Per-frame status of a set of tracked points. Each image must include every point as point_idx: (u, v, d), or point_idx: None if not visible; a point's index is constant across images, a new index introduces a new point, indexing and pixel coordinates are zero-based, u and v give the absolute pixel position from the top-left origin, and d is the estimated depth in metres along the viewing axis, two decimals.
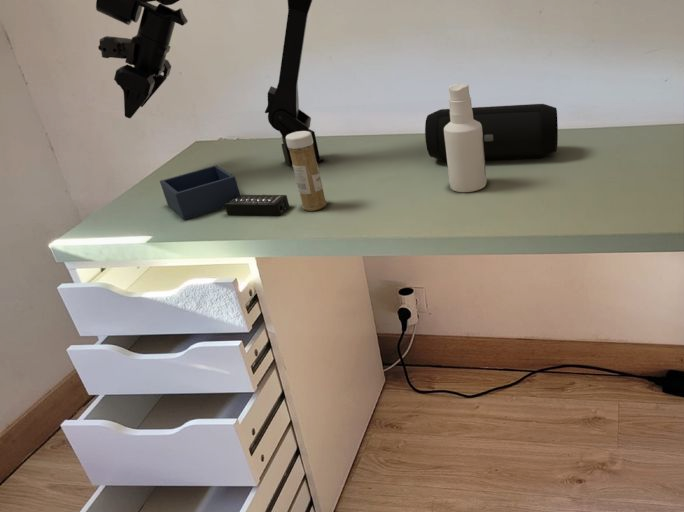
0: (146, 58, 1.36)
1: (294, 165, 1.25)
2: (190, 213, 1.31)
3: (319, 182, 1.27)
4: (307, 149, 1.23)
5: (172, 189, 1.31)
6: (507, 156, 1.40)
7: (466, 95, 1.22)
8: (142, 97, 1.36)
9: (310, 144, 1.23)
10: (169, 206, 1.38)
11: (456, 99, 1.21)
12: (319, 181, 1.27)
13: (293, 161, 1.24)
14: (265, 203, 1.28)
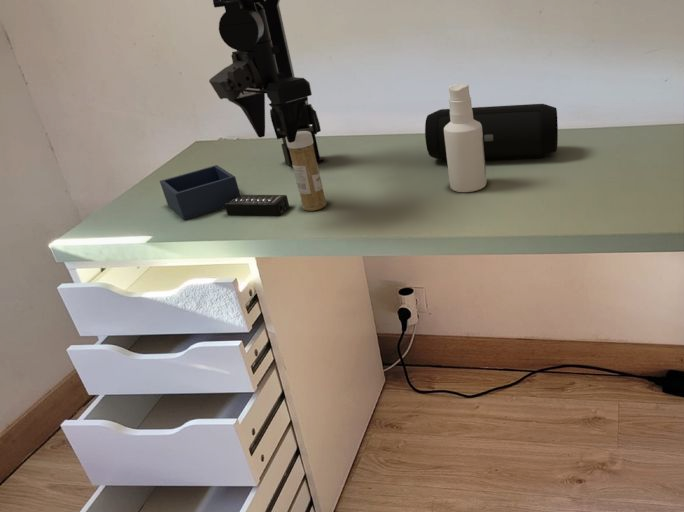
0: (269, 67, 1.15)
1: (294, 165, 1.25)
2: (190, 213, 1.31)
3: (319, 182, 1.27)
4: (307, 149, 1.23)
5: (172, 189, 1.31)
6: (507, 156, 1.40)
7: (466, 95, 1.22)
8: (299, 106, 1.17)
9: (310, 144, 1.23)
10: (169, 206, 1.38)
11: (456, 99, 1.21)
12: (319, 181, 1.27)
13: (293, 161, 1.24)
14: (265, 203, 1.28)
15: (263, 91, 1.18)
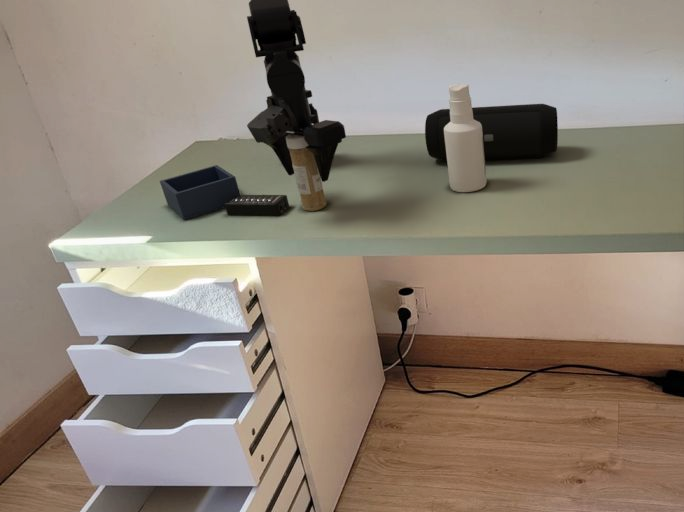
0: (304, 110, 1.19)
1: (294, 165, 1.25)
2: (190, 213, 1.31)
3: (319, 182, 1.27)
4: (307, 149, 1.23)
5: (172, 189, 1.31)
6: (507, 156, 1.40)
7: (466, 95, 1.22)
8: (333, 147, 1.22)
9: None
10: (169, 206, 1.38)
11: (456, 99, 1.21)
12: (319, 181, 1.27)
13: (293, 161, 1.24)
14: (265, 203, 1.28)
15: (296, 133, 1.22)
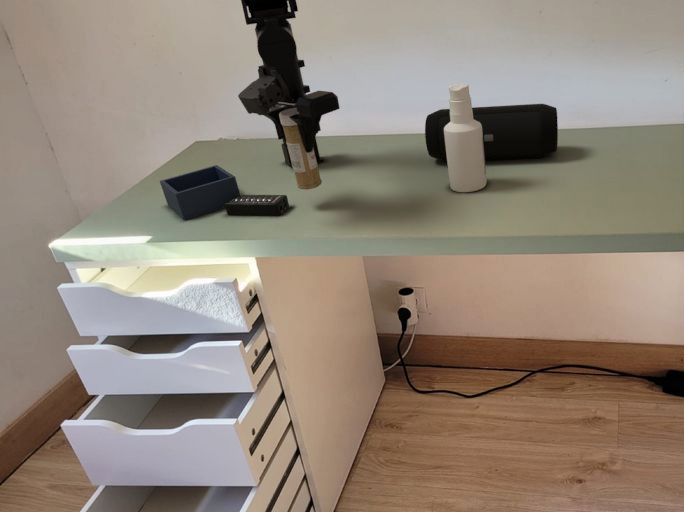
0: (296, 81, 1.17)
1: (288, 143, 1.23)
2: (190, 213, 1.31)
3: (313, 160, 1.25)
4: None
5: (172, 189, 1.31)
6: (507, 156, 1.40)
7: (466, 95, 1.22)
8: (317, 117, 1.21)
9: None
10: (169, 206, 1.38)
11: (456, 99, 1.21)
12: (314, 159, 1.25)
13: (287, 139, 1.22)
14: (265, 203, 1.28)
15: None
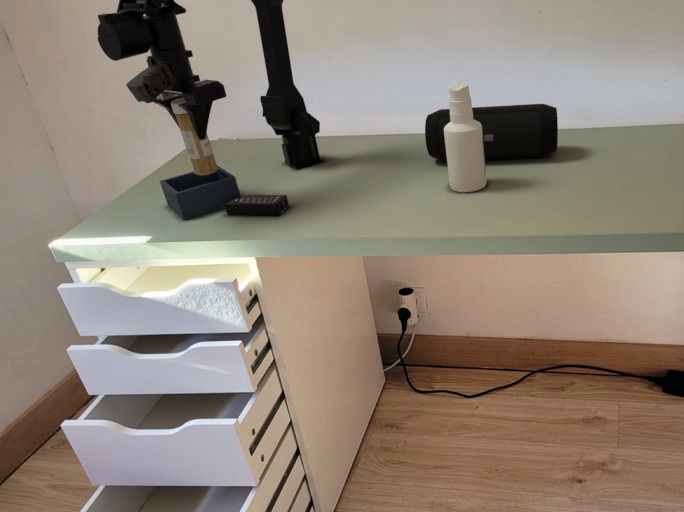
0: (184, 70, 1.22)
1: (181, 130, 1.27)
2: (190, 213, 1.31)
3: (207, 147, 1.30)
4: None
5: (172, 189, 1.31)
6: (507, 156, 1.40)
7: (466, 95, 1.22)
8: (208, 105, 1.25)
9: None
10: (169, 206, 1.38)
11: (456, 99, 1.21)
12: (208, 146, 1.30)
13: (180, 126, 1.27)
14: (265, 203, 1.28)
15: None
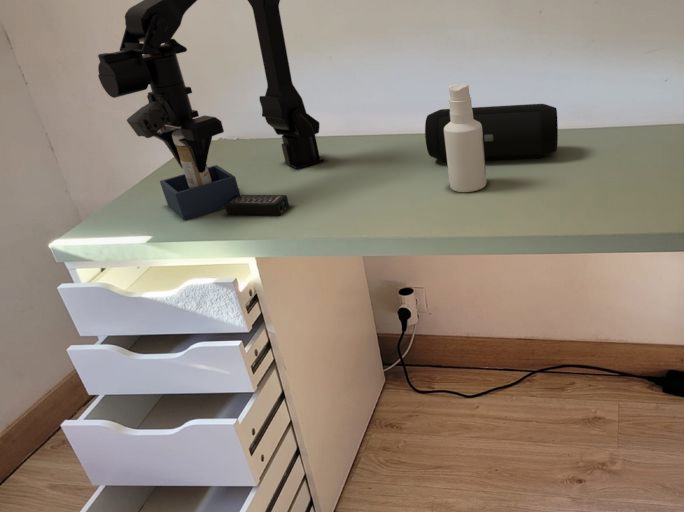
0: (183, 106, 1.26)
1: (181, 161, 1.31)
2: (190, 213, 1.31)
3: (206, 177, 1.34)
4: None
5: (172, 189, 1.31)
6: (507, 156, 1.40)
7: (466, 95, 1.22)
8: (207, 140, 1.29)
9: None
10: (169, 206, 1.38)
11: (456, 99, 1.21)
12: (207, 176, 1.34)
13: (180, 157, 1.31)
14: (265, 203, 1.28)
15: None
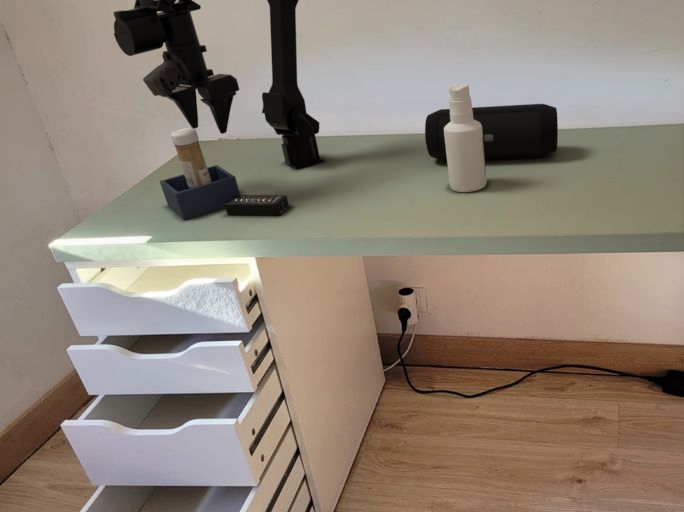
0: (198, 65, 1.26)
1: (181, 161, 1.31)
2: (190, 213, 1.31)
3: (206, 176, 1.34)
4: (191, 146, 1.30)
5: (172, 189, 1.31)
6: (507, 156, 1.40)
7: (466, 95, 1.22)
8: (229, 100, 1.28)
9: (194, 141, 1.30)
10: (169, 206, 1.38)
11: (456, 99, 1.21)
12: (206, 176, 1.34)
13: (179, 157, 1.31)
14: (265, 203, 1.28)
15: (194, 87, 1.29)
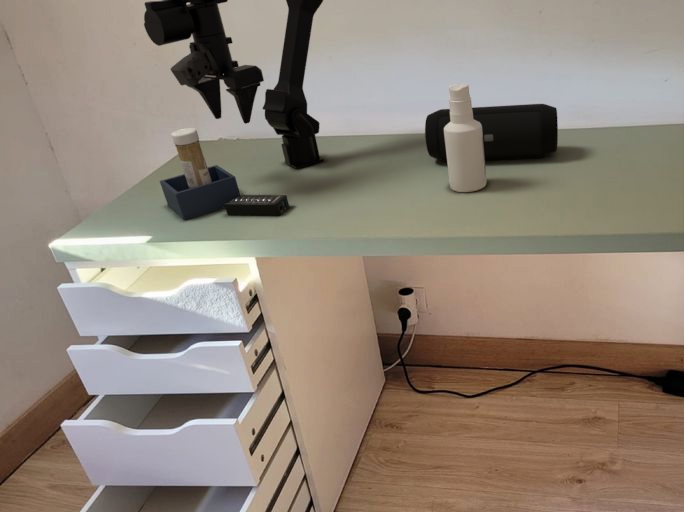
0: (224, 56, 1.29)
1: (181, 160, 1.31)
2: (190, 213, 1.31)
3: (206, 176, 1.34)
4: (192, 145, 1.30)
5: (172, 189, 1.31)
6: (507, 156, 1.40)
7: (466, 95, 1.22)
8: (253, 90, 1.32)
9: (195, 141, 1.30)
10: (169, 206, 1.38)
11: (456, 99, 1.21)
12: (207, 176, 1.34)
13: (180, 157, 1.31)
14: (265, 203, 1.28)
15: (219, 77, 1.32)
